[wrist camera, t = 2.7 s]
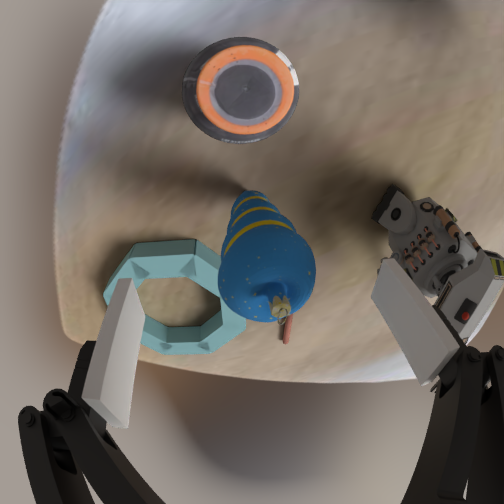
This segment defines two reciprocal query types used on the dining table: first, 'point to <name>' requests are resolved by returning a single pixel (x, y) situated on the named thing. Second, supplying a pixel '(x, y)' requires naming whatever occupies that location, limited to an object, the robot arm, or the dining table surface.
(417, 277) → the figurine
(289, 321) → the reddish pink rod
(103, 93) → the dining table surface
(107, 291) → the teal octagonal ring
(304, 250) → the ornament
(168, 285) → the dining table surface
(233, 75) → the pill bottle
